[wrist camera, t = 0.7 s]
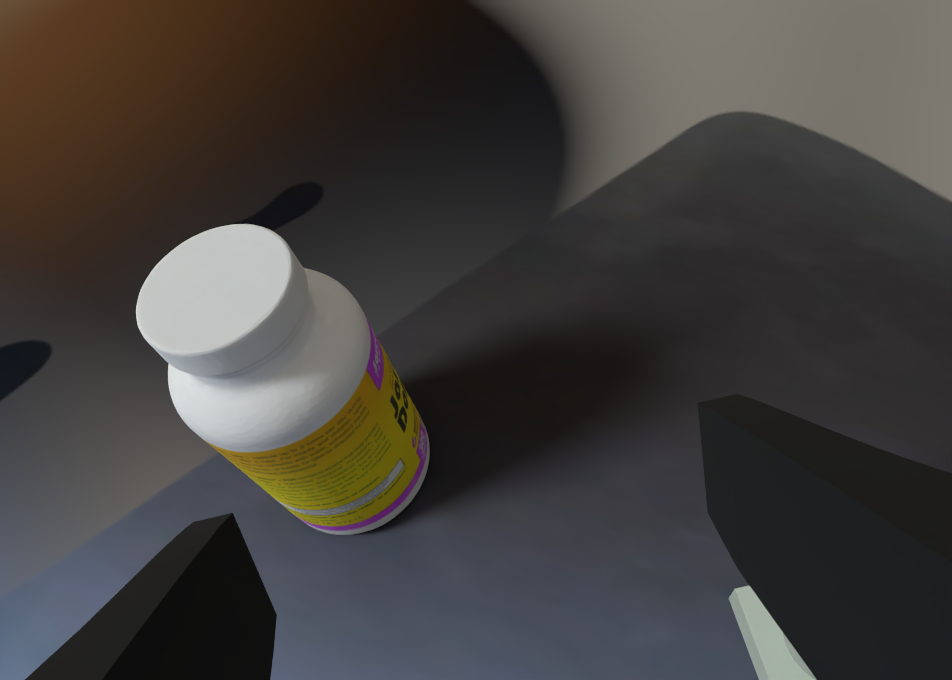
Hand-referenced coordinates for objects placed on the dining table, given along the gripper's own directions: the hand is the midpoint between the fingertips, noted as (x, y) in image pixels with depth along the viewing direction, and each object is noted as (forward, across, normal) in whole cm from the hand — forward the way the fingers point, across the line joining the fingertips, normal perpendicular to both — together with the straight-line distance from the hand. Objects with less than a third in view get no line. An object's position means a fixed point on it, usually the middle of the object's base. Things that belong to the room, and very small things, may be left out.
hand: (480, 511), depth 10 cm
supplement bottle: (+17, +5, +9) cm, 20 cm away
